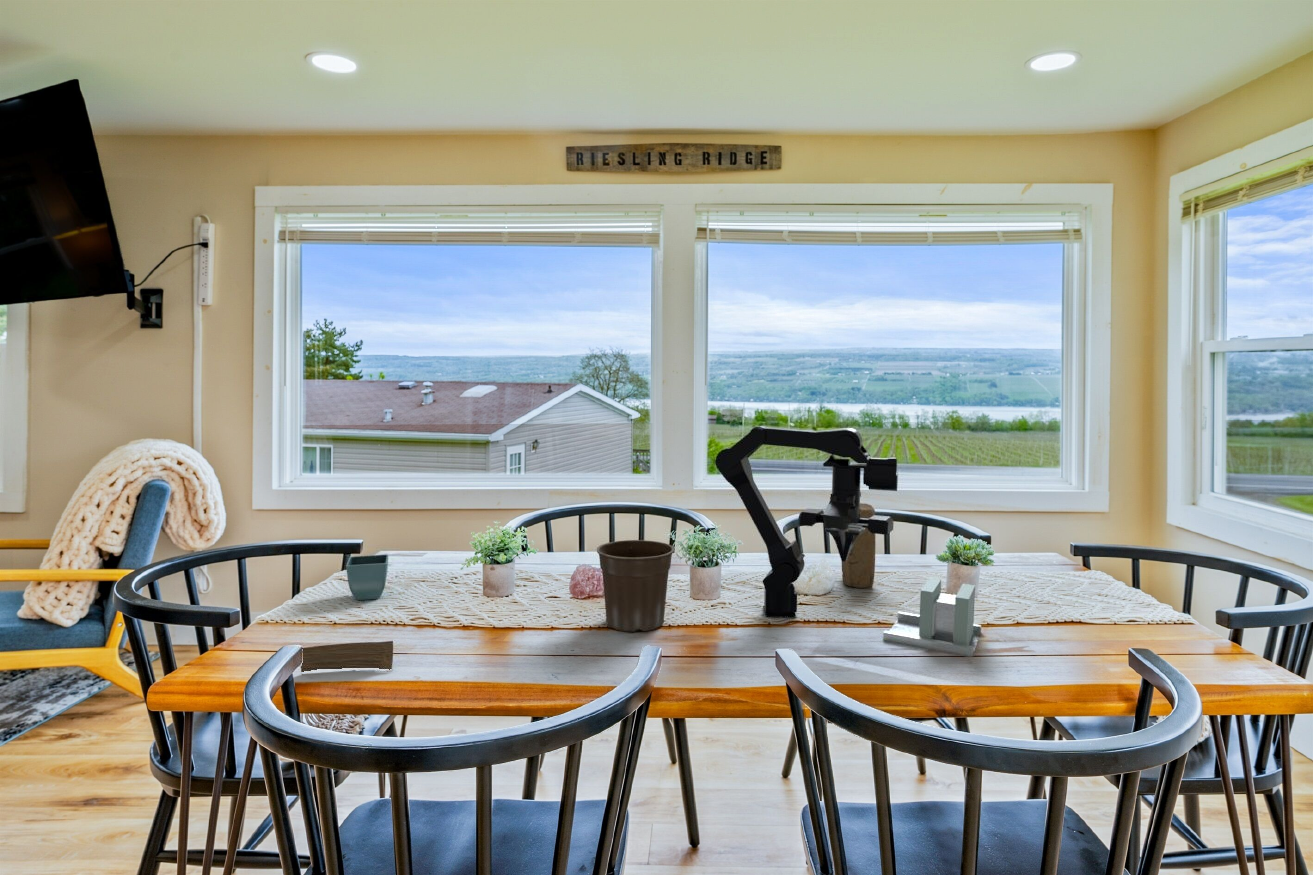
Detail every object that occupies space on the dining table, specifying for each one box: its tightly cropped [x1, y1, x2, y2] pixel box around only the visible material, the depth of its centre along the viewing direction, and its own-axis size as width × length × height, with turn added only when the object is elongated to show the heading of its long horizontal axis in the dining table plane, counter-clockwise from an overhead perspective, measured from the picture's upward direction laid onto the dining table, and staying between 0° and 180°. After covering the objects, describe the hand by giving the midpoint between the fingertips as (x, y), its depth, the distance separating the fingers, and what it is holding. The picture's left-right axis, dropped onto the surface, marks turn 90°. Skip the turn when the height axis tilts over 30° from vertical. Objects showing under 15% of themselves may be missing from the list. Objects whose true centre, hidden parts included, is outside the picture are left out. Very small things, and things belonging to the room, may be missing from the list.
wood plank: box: [300, 640, 394, 672], centre depth 125 cm, size 15×2×5 cm, turn 100°
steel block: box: [934, 592, 957, 643], centre depth 139 cm, size 4×6×8 cm, turn 150°
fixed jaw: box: [953, 583, 976, 646], centre depth 138 cm, size 2×10×10 cm, turn 150°
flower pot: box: [345, 554, 389, 601], centre depth 167 cm, size 9×9×9 cm
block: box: [841, 503, 877, 589], centre depth 179 cm, size 11×8×20 cm
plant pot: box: [596, 539, 675, 633], centre depth 150 cm, size 16×16×16 cm
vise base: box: [882, 611, 982, 658], centre depth 141 cm, size 16×15×2 cm
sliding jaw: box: [919, 577, 942, 639], centre depth 141 cm, size 2×10×10 cm, turn 150°
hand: (844, 561), depth 151 cm, fingers closed
